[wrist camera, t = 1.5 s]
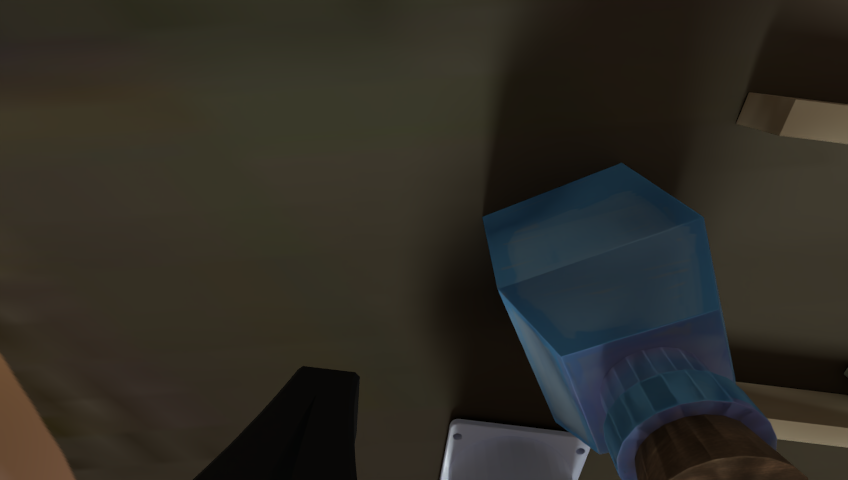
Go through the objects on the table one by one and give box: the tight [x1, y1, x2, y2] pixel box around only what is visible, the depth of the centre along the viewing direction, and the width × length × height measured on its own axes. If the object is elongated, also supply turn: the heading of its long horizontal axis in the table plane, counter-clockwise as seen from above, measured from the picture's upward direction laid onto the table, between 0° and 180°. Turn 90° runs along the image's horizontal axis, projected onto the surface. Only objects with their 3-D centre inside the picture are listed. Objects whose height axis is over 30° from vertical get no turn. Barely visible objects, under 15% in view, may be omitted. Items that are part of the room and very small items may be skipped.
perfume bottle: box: [483, 163, 808, 480], centre depth 14 cm, size 6×6×12 cm
